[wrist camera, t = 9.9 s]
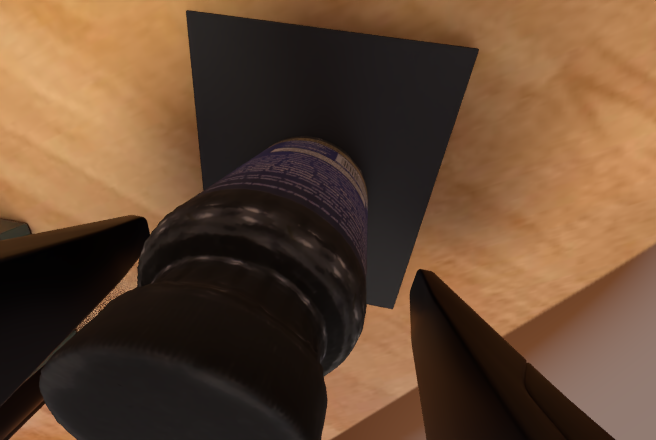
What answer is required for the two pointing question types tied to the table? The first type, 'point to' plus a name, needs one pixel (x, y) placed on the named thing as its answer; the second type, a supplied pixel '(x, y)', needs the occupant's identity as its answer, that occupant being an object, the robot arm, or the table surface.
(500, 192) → the table surface
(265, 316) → the pill bottle
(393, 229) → the mat
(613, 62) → the table surface
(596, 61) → the table surface
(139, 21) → the table surface
